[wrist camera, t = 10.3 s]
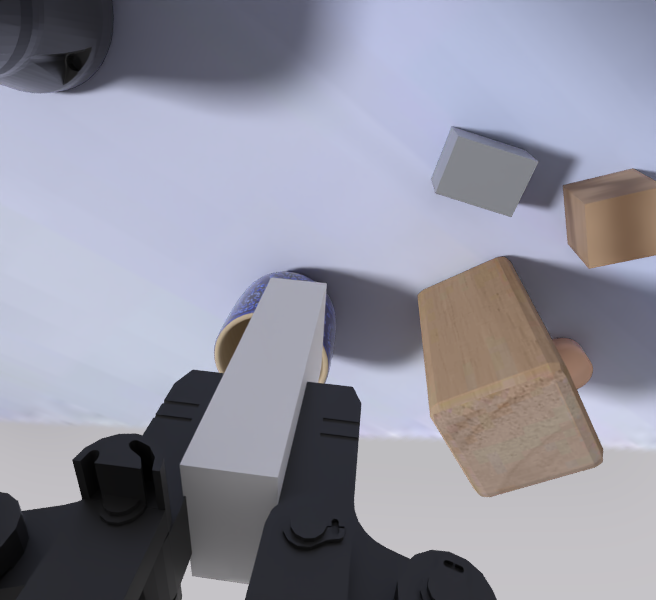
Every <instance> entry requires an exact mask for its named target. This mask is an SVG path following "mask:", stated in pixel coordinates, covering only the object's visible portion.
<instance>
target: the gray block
mask: <svg viewBox="0 0 656 600" xmlns="http://www.w3.org/2000/svg"><path fill="white" fill-rule="evenodd" d="M537 164H538V161H537V160H536V159H535V158H534V157H532V156H531V155H530V154H529V153H528V152H527V151H525V150H524V149H521V148H518V147H514V146H511V145H508V144H505V143H502V142H499V141H496V140H493V139H490V138H486V137H483V136H480V135H477V134H474V133H471V132H468V131H465V130H462V129H459V128H455V127H451V129H450V132H449V135H448V137H447V140H446V142H445V145H444V147H443V150H442V152H441V155H440V157H439V160H438V163H437V165H436V168H435V170H434V173H433V175H432V178H431V180H432V184H433V187H434V191H435V193H436V194H439V195H443V196H446V197H449V198H452V199H455V200H458V201H462V202H465V203H468V204H471V205H474V206H477V207H481V208H484V209H487V210H490V211H493V212H496V213H499V214H503V215H506V216H509V217H512V215H513V213H514V211H515V209H516V207H517V205H518V203H519V201H520V199H521V197H522V195H523V193H524V191H525V189H526V186H527V184H528V182H529V180H530V178H531V176H532V174H533V172H534V170H535V168H536V166H537Z"/></svg>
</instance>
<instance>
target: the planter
mask: <svg viewBox="0 0 656 600" xmlns="http://www.w3.org/2000/svg"><path fill="white" fill-rule="evenodd" d="M271 278H280V279H290V280H300V281H309V282H315V281H314V280H312V279H311V278H309V277H307V276H304V275H302V274H298V273H294V272H276V273H271V274H268V275H265V276H263V277H261V278H259V279H258V280H257V281H255V282H254V283H253V284H251V285H250V286H249V287H248V288H247V290H246V291H245V292H244V293H243V294H242V296H241V297H240V298H239V300H238V301H237V303H236V304H235V306H234V307H233V309H232V311H231V312H230V314H229V316H228V317H227V319H226V321H225V323H224V325H223V326H222V328H221V330H220V332H219V335H218V337H217V339H216V343H215V348H214V357H215V363H216V366H217V369H218V371H219V373H225V371H226V369H227V367H228V365H229V363H230V361H231V358H232V356H233V354H234V352H235V350H236V348H237V346H238V344H239V342H240V340H241V338H242V336H243V334H244V332H245V330H246V328H247V326H248V324H249V322H250V320H251V317H252V315H253V313H254V311H255V309H256V307H257V305H258V303H259V301H260V299H261V297H262V295H263V293H264V291H265V289H266V287H267V285H268V283H269V281H270V279H271ZM335 333H336V316H335V311H334V307H333V304H332V301H331V299H330V297H329V296H328V294H327V293H326V304H325V319H324V334H323V349H322V364H321V371H320V376H319V381H318V383H324V384H325V382H326V379H327V377H328V373H329V370H330V365H331V360H332V355H333V349H334V342H335Z"/></svg>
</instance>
